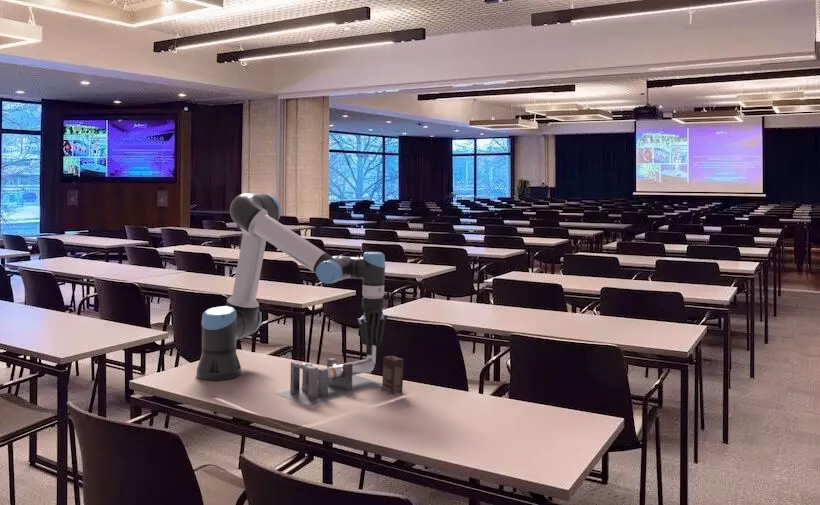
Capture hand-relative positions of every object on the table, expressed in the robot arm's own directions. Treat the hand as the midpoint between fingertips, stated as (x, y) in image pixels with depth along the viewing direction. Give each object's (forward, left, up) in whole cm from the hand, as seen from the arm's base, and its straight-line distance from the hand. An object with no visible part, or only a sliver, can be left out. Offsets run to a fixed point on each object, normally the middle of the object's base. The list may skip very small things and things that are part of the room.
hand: (371, 363), depth 238 cm
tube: (0, -12, -3) cm, 12 cm away
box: (+15, -5, -7) cm, 17 cm away
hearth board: (0, -18, -6) cm, 19 cm away
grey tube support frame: (0, -15, -5) cm, 16 cm away
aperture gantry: (0, -30, -5) cm, 30 cm away
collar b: (0, -25, -5) cm, 26 cm away
